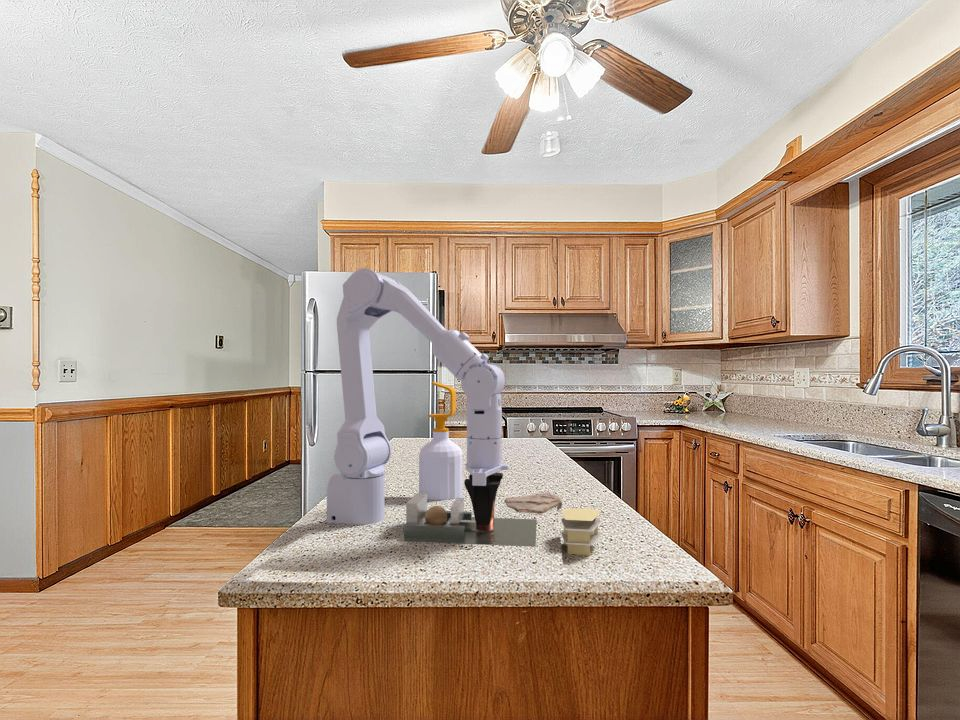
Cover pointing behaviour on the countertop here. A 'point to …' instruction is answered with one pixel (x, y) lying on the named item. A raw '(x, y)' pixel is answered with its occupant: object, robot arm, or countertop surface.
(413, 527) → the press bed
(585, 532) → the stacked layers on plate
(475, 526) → the ram
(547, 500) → the stone
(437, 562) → the countertop surface
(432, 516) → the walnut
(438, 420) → the soap bottle
